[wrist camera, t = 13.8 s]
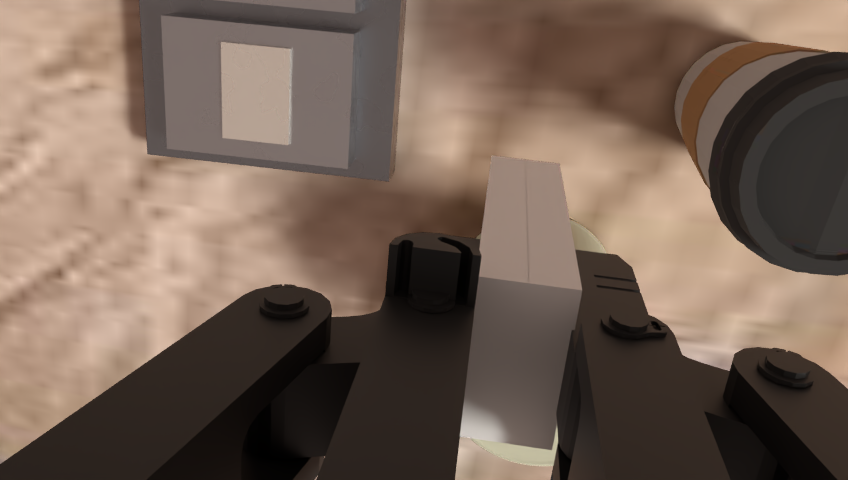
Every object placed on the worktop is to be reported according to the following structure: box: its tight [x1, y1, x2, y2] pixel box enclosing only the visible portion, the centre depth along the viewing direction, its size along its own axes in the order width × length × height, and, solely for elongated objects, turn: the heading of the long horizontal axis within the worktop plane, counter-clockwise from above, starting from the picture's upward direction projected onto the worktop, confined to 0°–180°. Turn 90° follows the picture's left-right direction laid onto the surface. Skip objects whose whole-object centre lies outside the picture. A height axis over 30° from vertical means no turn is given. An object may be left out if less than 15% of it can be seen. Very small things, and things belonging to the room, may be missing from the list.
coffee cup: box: [674, 41, 848, 276], centre depth 34 cm, size 8×8×15 cm
